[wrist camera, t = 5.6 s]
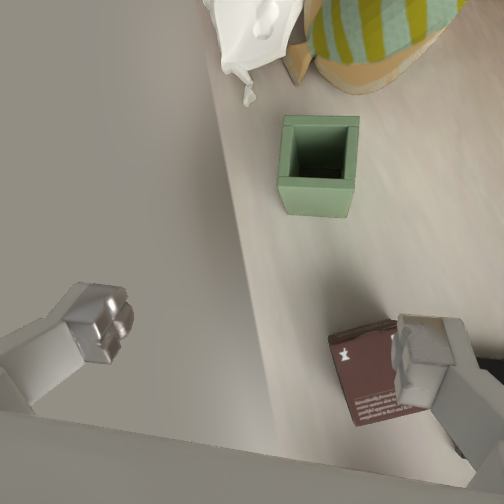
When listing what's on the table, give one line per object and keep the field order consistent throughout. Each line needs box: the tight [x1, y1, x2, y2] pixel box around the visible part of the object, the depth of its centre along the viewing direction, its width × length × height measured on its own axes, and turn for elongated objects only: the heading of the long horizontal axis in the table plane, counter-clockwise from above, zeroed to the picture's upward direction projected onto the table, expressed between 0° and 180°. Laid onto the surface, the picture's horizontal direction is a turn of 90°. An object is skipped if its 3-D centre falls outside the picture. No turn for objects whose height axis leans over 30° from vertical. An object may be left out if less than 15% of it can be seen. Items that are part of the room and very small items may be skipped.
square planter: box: [277, 115, 360, 218], centre depth 32 cm, size 6×6×9 cm
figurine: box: [202, 0, 304, 106], centre depth 37 cm, size 8×15×12 cm
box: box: [327, 319, 428, 426], centre depth 30 cm, size 6×6×7 cm
